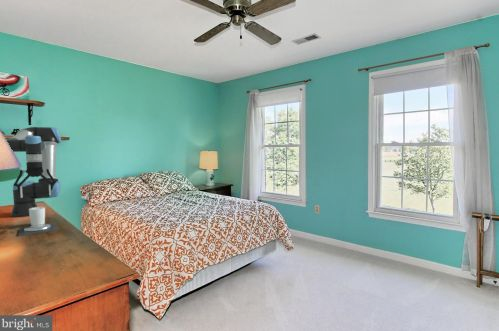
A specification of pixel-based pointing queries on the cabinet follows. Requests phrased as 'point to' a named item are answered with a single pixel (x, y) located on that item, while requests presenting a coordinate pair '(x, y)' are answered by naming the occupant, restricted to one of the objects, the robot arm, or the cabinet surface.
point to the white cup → (37, 215)
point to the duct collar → (37, 229)
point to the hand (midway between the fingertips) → (36, 196)
